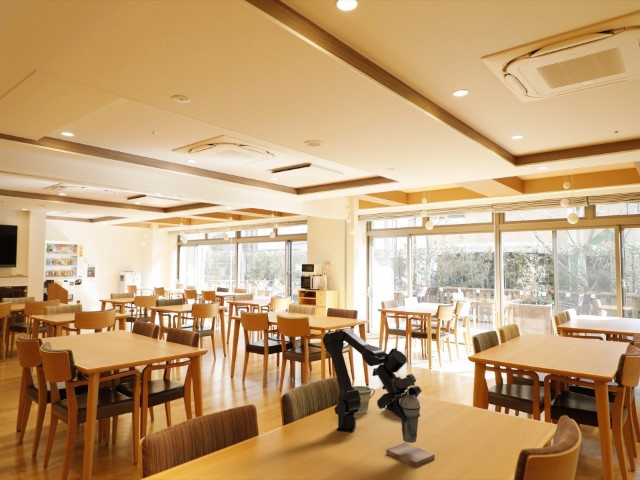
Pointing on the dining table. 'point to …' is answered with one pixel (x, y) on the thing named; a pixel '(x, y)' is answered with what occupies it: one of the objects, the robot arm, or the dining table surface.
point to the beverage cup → (410, 417)
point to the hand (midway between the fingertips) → (412, 418)
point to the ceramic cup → (364, 397)
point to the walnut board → (410, 454)
